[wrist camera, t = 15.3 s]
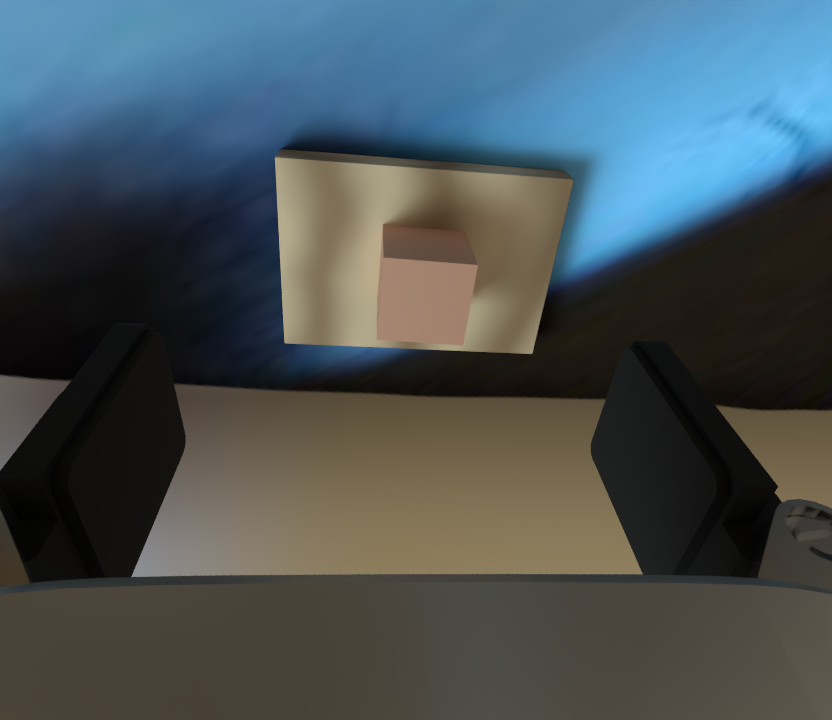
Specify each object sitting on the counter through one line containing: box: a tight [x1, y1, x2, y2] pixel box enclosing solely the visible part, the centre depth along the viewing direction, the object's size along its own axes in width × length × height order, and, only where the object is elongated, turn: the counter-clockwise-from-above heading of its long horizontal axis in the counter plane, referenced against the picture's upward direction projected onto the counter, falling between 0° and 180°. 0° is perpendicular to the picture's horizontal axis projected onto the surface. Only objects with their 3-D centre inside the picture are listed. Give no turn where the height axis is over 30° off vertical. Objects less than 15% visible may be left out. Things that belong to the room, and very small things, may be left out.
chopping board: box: [275, 149, 574, 354], centre depth 35 cm, size 17×12×2 cm
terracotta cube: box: [377, 225, 478, 345], centre depth 32 cm, size 5×5×5 cm
